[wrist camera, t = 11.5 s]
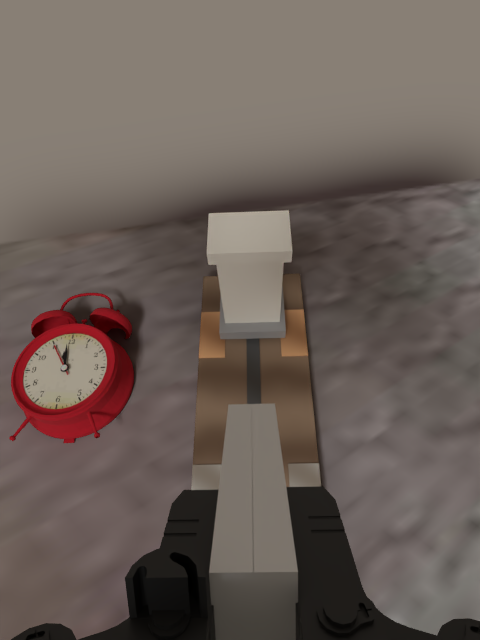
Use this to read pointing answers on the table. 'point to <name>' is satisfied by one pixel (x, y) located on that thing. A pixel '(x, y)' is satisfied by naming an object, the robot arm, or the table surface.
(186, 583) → the robot arm
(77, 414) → the alarm clock
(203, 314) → the board
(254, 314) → the fader tab
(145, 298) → the table surface
